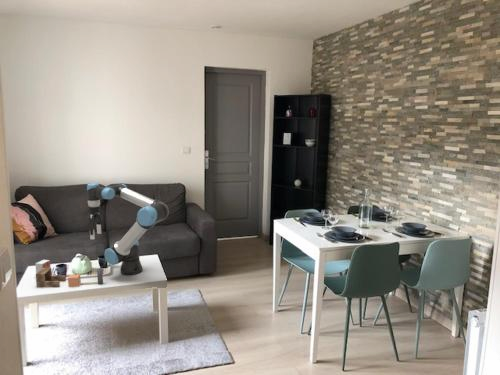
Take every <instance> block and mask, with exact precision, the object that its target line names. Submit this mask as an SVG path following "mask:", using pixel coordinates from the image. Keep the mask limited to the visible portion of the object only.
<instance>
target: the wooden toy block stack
mask: <svg viewBox="0 0 500 375" xmlns="http://www.w3.org/2000/svg"><path fill="white" fill-rule="evenodd" d="M66 281H67V275H53V272H52V267H51V268H43V269H42V270H40V271H39V272H38V273H36V272H35V283H36V288H60V286H61V284H60V283H61V282H66Z"/></svg>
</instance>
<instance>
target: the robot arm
mask: <svg viewBox="0 0 500 375" xmlns="http://www.w3.org/2000/svg"><path fill="white" fill-rule="evenodd" d="M86 186H87V187H86V191H87V193H86V194H87V205H88V209H87V211H88V213H91V214H89V215H88V217H89V221H88V226H87V230H88V231H89V238H90V240H95V239H96V237H95V236H96V235H95V224H96V234H98V235H99V234H100V235H101V234H102V225H103V220H102V217H101V213H100V212H101V206H100V205H101V199H102V200H103V199H104V200H112V199H114V197H118V198H121V199H124V200H126V201H128V202H130V203H132V204H134V205H136V206H139V207H141V208H140V209H138V211H137V214H136V220H135V221H136V222H134V224H132V226H131V227H130V228H129V230H128V231H127V232H126V233H125V234H124V236H123V237H121V239H120V240H117V241H116V242H115V243H114V244H113V245H112V246H111V247H109V248H106V249H105V251H104V258H105V261H106V262H107V263H108V264H109V265H110V266H116V265H118V264H120V263H121V264H120V269H119V272H120V274H121V275H125V276H134V275H137V274H140V273H142V272H143V265H142V262H141V260H140V244H139V240H140V238H142V236H143V235H144V234H145V233H146V232H147V231H148V230H151V229H152V228H154V226H155V225H156V224H157V223H160V222H162V221H165V220H166V219H167V218H168V217H169V212H170V211H169V207H168V205H167V204H165V202H162V201H161V200H158V199H152V198H150V197H148V196H145V195H144V194H141V193H139V192H137V191H134V190H132V189H130V188H128V186H127V185H126V184H123V183H120V184H119V183H118V184H115V185H111V186H105V187H104V186H100V184H99V183H97V182H91V183H88V184H87V185H86Z"/></svg>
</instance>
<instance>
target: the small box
mask: <svg viewBox="0 0 500 375" xmlns="http://www.w3.org/2000/svg"><path fill="white" fill-rule="evenodd" d="M34 264H35V274H36V273H38V272H39V271H40V270H42V269H43V268H51V269H52V266H51V260H49V259H42V260H39V261H37V262H35V263H34Z"/></svg>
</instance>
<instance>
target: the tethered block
mask: <svg viewBox="0 0 500 375" xmlns="http://www.w3.org/2000/svg"><path fill="white" fill-rule="evenodd" d="M96 271H97V272H96V273H97V281H88V282H87V281H85V282H83V281H82V280H81V274H79V273H78V274H76V273H75V274H70V275H69V276H68V278H67V285H68V288H74V287H79V286H80V285H92V284H94V285H95V284H97V285H103V284H104V277H103V274H104V273H103V268H102V267H99V268H97V269H96ZM81 281H82V282H81Z"/></svg>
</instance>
